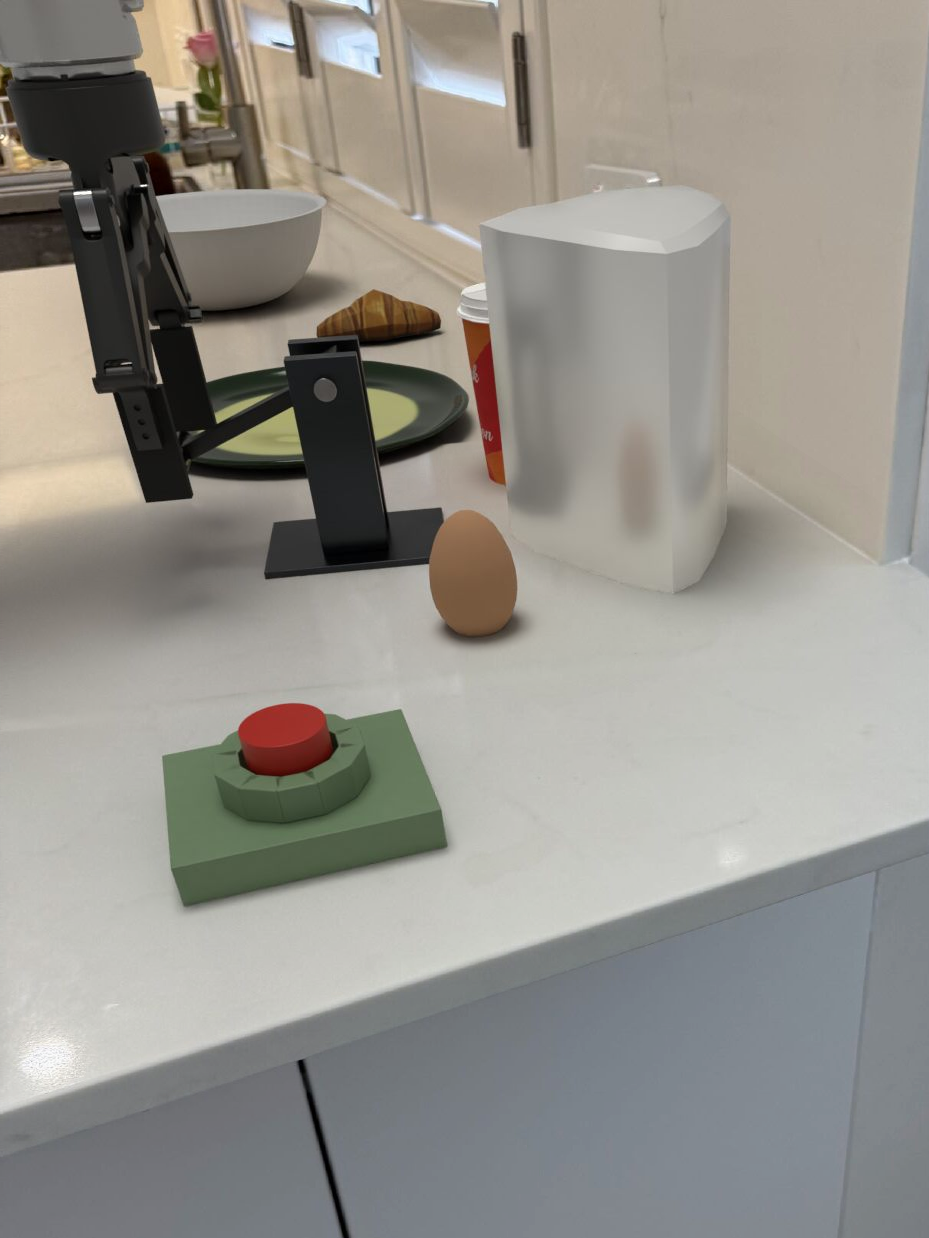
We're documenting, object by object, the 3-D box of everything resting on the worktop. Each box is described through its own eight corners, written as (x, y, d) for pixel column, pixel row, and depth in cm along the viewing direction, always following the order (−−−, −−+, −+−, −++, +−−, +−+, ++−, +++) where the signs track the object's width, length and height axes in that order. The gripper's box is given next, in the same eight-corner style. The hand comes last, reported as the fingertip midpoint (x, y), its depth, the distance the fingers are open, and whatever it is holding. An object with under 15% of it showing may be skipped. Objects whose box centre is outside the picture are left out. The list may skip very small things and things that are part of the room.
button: (250, 787, 55) (241, 754, 54) (242, 744, 58) (233, 712, 57) (338, 768, 56) (331, 736, 55) (326, 727, 59) (319, 696, 58)
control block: (183, 907, 54) (158, 835, 51) (173, 791, 61) (151, 723, 59) (447, 847, 57) (435, 776, 54) (407, 744, 64) (395, 677, 62)
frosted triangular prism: (503, 550, 84) (464, 193, 71) (640, 492, 93) (629, 162, 79) (664, 610, 76) (655, 220, 63) (798, 541, 85) (816, 182, 71)
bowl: (95, 340, 133) (65, 239, 127) (122, 286, 154) (97, 197, 148) (346, 320, 137) (329, 221, 131) (339, 270, 158) (324, 183, 152)
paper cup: (510, 461, 99) (491, 274, 90) (592, 473, 96) (581, 282, 87) (457, 493, 93) (431, 297, 85) (542, 507, 91) (525, 306, 82)
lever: (175, 490, 77) (151, 456, 76) (186, 464, 81) (162, 431, 79) (355, 395, 76) (334, 359, 74) (357, 373, 79) (336, 338, 78)
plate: (213, 387, 117) (206, 360, 116) (496, 385, 116) (493, 358, 114) (89, 491, 96) (79, 460, 94) (436, 491, 94) (432, 459, 92)
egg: (503, 611, 77) (489, 488, 72) (536, 643, 73) (523, 516, 68) (426, 630, 75) (406, 505, 70) (456, 664, 71) (437, 535, 66)
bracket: (268, 591, 80) (215, 373, 72) (277, 539, 87) (230, 335, 79) (449, 573, 82) (419, 359, 73) (444, 523, 89) (416, 322, 80)
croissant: (434, 324, 135) (428, 275, 132) (449, 339, 130) (443, 288, 127) (313, 339, 131) (303, 289, 128) (323, 354, 126) (314, 302, 123)
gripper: (106, 85, 56) (223, 527, 69) (177, 50, 75) (259, 400, 89) (-65, 95, 55) (87, 540, 68) (52, 56, 75) (153, 409, 88)
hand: (184, 462), depth 78 cm, fingers open, 13 cm apart
